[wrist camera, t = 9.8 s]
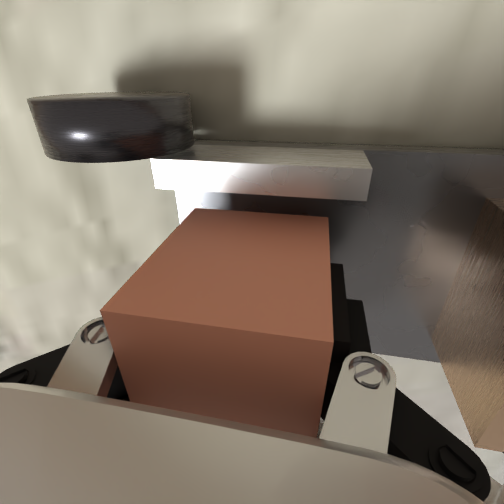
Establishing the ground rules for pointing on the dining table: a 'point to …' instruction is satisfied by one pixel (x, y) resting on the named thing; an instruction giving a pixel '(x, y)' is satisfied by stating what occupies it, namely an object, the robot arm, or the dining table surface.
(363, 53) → the dining table surface
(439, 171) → the chassis
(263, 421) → the block
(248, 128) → the dining table surface
